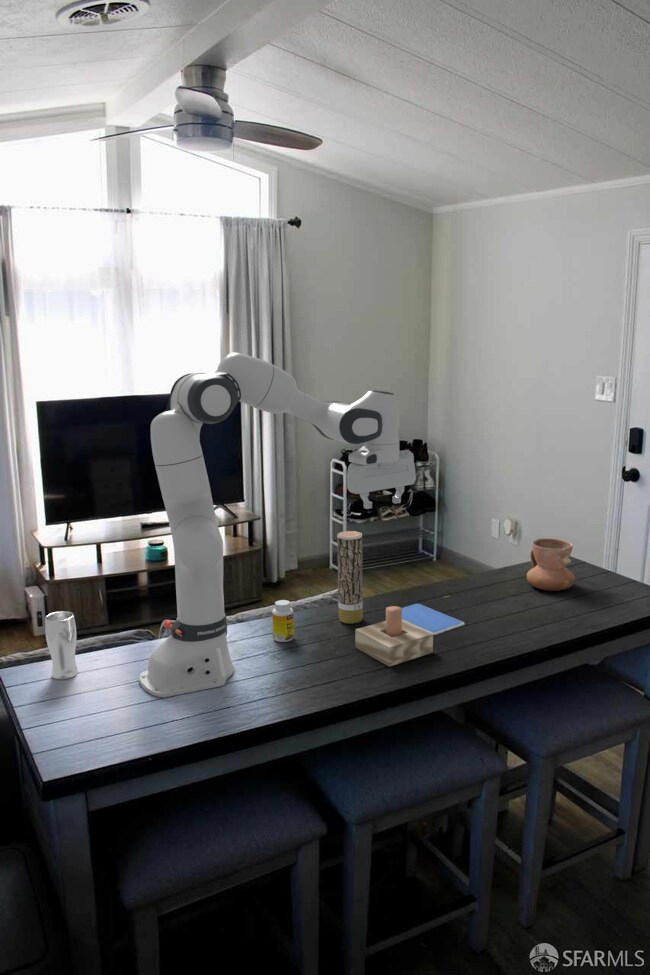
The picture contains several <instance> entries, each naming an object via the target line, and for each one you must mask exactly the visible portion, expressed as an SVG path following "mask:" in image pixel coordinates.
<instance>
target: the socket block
mask: <svg viewBox="0 0 650 975" xmlns="http://www.w3.org/2000/svg"><path fill="white" fill-rule="evenodd" d="M354 630H355V633H354V634H355V636H354V637H355V641H354V642H355V649H357V650H359V651H360V652H363V653H364V654H366V655H368V656H370V657H371V658H373V659H375V660H377V661H378V662H380V663H382V664H384V665H385V666H387V667H393V666H395V665H399V664H401V663H405V662H408V661H410V660H414V659H416V658H417V659H418V658H420V657H423V656H426V655H427V656H428V655H430V654H432V653H434V635H433V634H432V633H430V632H428V631H426V630H424V629H422V628H420V627H417V626H415V625H413V624H411V623H409V622H407V621H405V620H403V619H402V635H398V636H395V637H391V636H389V635H387V634H386V620H383V621H380V622H377V623H373V624H369V625H366V626H363V627H360V628H356V629H354Z"/></svg>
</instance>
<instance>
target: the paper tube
mask: <svg viewBox="0 0 650 975" xmlns="http://www.w3.org/2000/svg"><path fill="white" fill-rule="evenodd" d="M336 538H337V593H338V594H337V595H338V596H337V597H338V598H337V600H338V602H337V604H338V607H337V608H338V620H339V622H341V623H343V624H346V625H347V624H348V625H349V624H350V625H352V624H354V623H355V624H359V623H360V622H362V621H363V619H364V615H363V613H364V612H363V610H364V609H363V608H364V607H363V606H364V604H363V603H364V600H363V599H364V598H363V597H364V596H363V595H364V594H363V593H364V590H363V581H364V580H363V533H362V532H359V531H355V530H347V531H345V530H344V531H340V532H338V533H337V537H336Z"/></svg>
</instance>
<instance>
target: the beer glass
mask: <svg viewBox="0 0 650 975" xmlns="http://www.w3.org/2000/svg"><path fill="white" fill-rule="evenodd" d="M44 624H45V629H44V630H45V631H44V632H45V640H46V643H47V648H48V650H49V655H50V657H51V663H52V668H51V670H52V671H51V677H52V679H54V680H58V681H59V680H61V681H63V680H68V679H69V680H70V679H73V678H74V677H76V676H77V675H78V673H79V670H78V666H77V662H76V648H77V625H76V620H75V614H74V613H73V612H71V611H66V610H63V611H62V610H61V611H55V612H51V613H49V614H48V615H46V616H45V617H44Z"/></svg>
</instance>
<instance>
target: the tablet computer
mask: <svg viewBox="0 0 650 975" xmlns="http://www.w3.org/2000/svg"><path fill="white" fill-rule="evenodd" d="M401 608H402V619H403V620H405V621H407V622H409V623H411V624H413V625H415V626H417V627H420V628H422V629H424V630H426V631H428V632H430V633H432V634H433V636H435V635H436V636H437V635H439V634H443V633H445V632H448V631H450V630H453V629H456V628H460V627H463V626H465V625H466V624H465V622H464V621H462V620H461V619H460V620H459V619H457V618H454V617H452V616H449V615H447V614H445V613H443V612H440V611H437V610H435V609H433V608H430V607H428V606H425V605H423V604H421V603H413V604H411V605H407V606H405V607H401Z"/></svg>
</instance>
